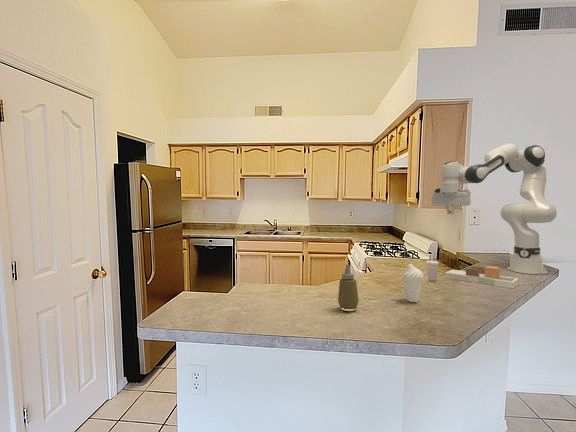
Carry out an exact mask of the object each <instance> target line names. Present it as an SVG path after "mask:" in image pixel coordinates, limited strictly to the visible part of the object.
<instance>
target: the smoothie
mask: <svg viewBox="0 0 576 432" xmlns="http://www.w3.org/2000/svg"><path fill="white" fill-rule="evenodd" d="M430 254H431V260H426V261H425V264H426V270H427V271H426V272H427V279H428V281H431V282H437V276H438V272H439V271H438V270H439V264H440V261H436V260H433V253H430Z"/></svg>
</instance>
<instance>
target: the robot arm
mask: <svg viewBox="0 0 576 432" xmlns="http://www.w3.org/2000/svg"><path fill="white" fill-rule="evenodd" d="M545 158H546V152H545V150H544V148H542V147H541V146H540V145H536V144H534V145H530V146H527V147H525V148H523V149H519V147H518V146H517V145H516V144H515V143H511V142H510V143H505V144H503V145H499V146H497V147H495V148H493V149H491V150H489V151H488V152H487V153H486V154H485V155H484V162H483V163H482V164H480V163H479V164H473V165H467V166H465V165H463V164H460V163H459V162H458V160H451V161H447V162H444V163H443V164H442V168H441V179H442V181H441V186H440V187H438V188H434V189H433V190H432V193H433V194H432V195H431V206H433V207H442V206H443V207H444V208H445V210H446V212H447V215H448V214H449V215H453V214H455V213H454V211H455V210H456V207H457V206H458V207H459V206H461V207H462V206H463V207H464V206H466V207H467V206H470V205H471V197H470V196H471V191H470V189H467V188H465V189H464V188H460V184H461V185H464V184H480V183H482V182H483V181H485V179H486V178H487V177H488V175H490V174H491V173H492V172H495V171H496V170H497V169H499V168H501V167H503V166H504V167H505V168H506V170H508V171H509V172H510V173H519V172H523V177H522V181H521V185H520V188H519V195H520V196H521V198H523V199H525V200H526V201H529V202H528V203H525V202H524V203H521V202H520V203H510V204H505V205H504V206H502V208H501V209H500V216H501V218H502V220H503V221H505V222H506V223H507V224H508V225H509V226H510V227H511V229H512V231H513V234H514V235H513V236H514V245H513V254H511V255H510V259H509V260H510V261H509V266H507V267H506V269H507V270H510V271H512V272H515V273H521V274H528V275H530V274H531V275H548V268H547V267H545V264H544V263H543V262H544V258H543V257H542V255H541V247H540V234H539V233H538V232H537V230H535V229H532V228H531V227H529V225H528V224H545V223H551V222H553V221H554V220H555V219H556V217H557V209H556V207H555V206H554V205H552V204H551V203H550V202H548V201H547V199H546V198H545V189H546V184H547V169H546V167H544V166H543V165H544V163H545ZM450 207H451V210H450Z"/></svg>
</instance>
